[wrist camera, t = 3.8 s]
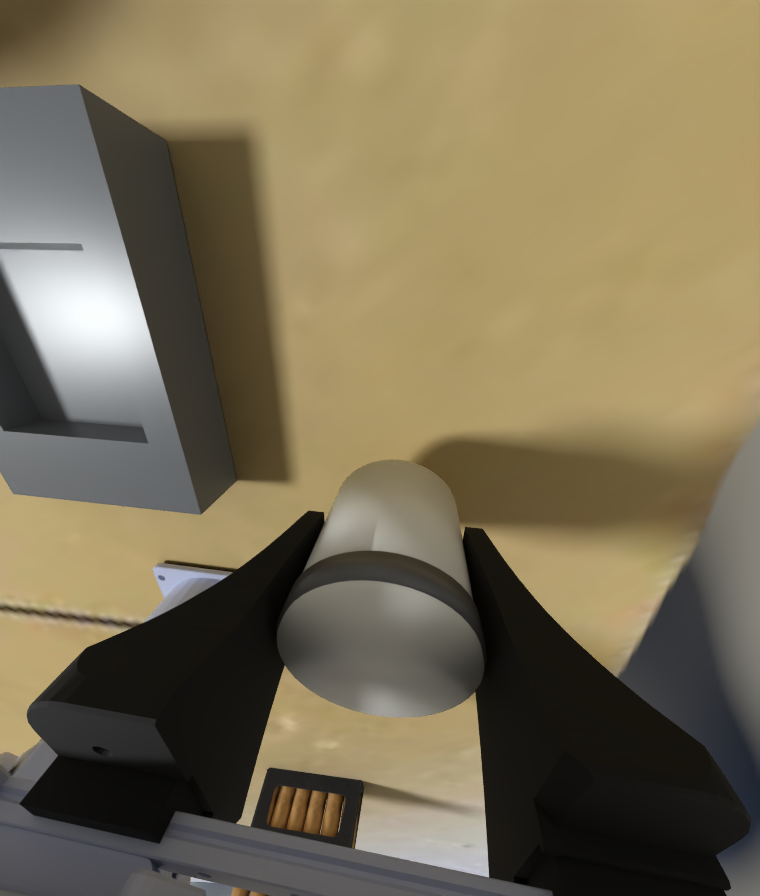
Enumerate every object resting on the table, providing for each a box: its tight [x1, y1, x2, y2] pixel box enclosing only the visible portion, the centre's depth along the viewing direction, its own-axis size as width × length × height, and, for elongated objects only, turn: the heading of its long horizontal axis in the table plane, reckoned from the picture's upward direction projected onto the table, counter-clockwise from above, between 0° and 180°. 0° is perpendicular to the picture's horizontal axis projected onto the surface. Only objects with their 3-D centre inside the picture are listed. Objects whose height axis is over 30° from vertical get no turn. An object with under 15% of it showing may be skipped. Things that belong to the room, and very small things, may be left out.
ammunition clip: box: [231, 768, 364, 896], centre depth 28 cm, size 11×2×12 cm, turn 95°
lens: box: [276, 460, 487, 717], centre depth 10 cm, size 5×5×6 cm
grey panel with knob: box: [0, 84, 237, 515], centre depth 12 cm, size 14×10×4 cm
